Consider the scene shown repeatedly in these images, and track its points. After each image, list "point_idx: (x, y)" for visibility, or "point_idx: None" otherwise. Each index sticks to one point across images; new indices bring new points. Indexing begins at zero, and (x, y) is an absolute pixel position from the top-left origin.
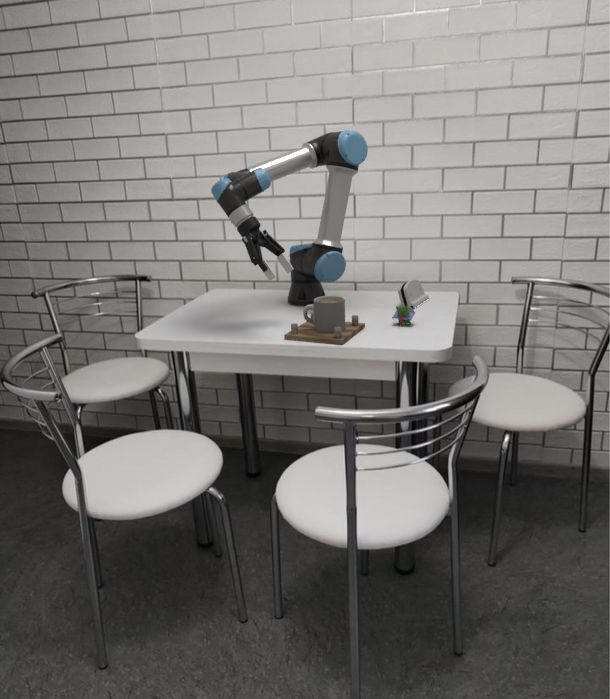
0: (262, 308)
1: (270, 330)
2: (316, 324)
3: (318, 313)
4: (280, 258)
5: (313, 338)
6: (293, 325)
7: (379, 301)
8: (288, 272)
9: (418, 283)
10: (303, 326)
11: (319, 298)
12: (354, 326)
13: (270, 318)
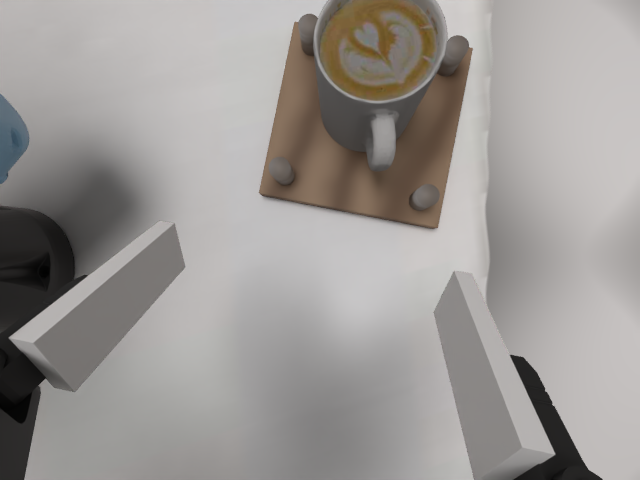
0: (101, 394)
1: (347, 295)
2: (401, 130)
3: (421, 99)
4: (87, 345)
5: (454, 136)
6: (438, 195)
7: (7, 45)
8: (182, 259)
9: None
10: (344, 193)
11: (344, 92)
12: None
13: (218, 333)
